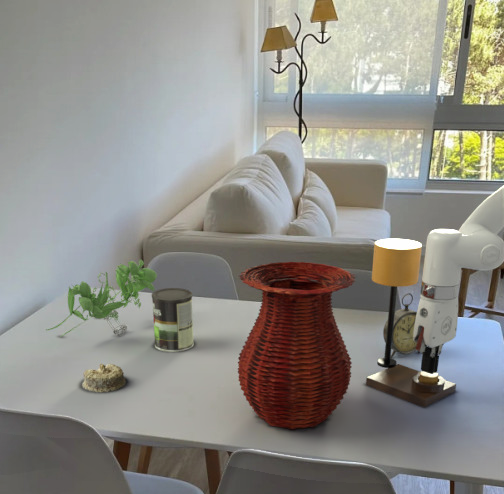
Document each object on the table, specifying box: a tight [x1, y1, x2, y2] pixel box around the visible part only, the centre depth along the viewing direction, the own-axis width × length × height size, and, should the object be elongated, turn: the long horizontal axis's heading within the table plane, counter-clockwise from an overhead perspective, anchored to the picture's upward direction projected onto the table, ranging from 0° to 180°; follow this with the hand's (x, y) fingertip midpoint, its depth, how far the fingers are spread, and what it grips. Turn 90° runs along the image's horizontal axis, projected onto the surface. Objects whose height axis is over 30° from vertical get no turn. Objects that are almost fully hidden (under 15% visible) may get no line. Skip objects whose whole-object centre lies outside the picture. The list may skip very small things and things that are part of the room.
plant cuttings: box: [45, 259, 158, 337], centre depth 191 cm, size 35×17×22 cm
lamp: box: [371, 238, 423, 369], centre depth 157 cm, size 10×10×28 cm
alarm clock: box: [382, 292, 421, 359], centre depth 176 cm, size 11×5×16 cm, turn 114°
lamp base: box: [365, 363, 457, 409], centre depth 160 cm, size 16×12×4 cm
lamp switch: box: [419, 370, 440, 384], centre depth 156 cm, size 4×4×2 cm
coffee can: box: [151, 287, 194, 353], centre depth 182 cm, size 10×10×14 cm
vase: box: [237, 261, 356, 430], centre depth 142 cm, size 23×24×30 cm
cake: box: [81, 363, 127, 393], centre depth 161 cm, size 10×10×5 cm
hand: (428, 371), depth 155 cm, fingers closed
